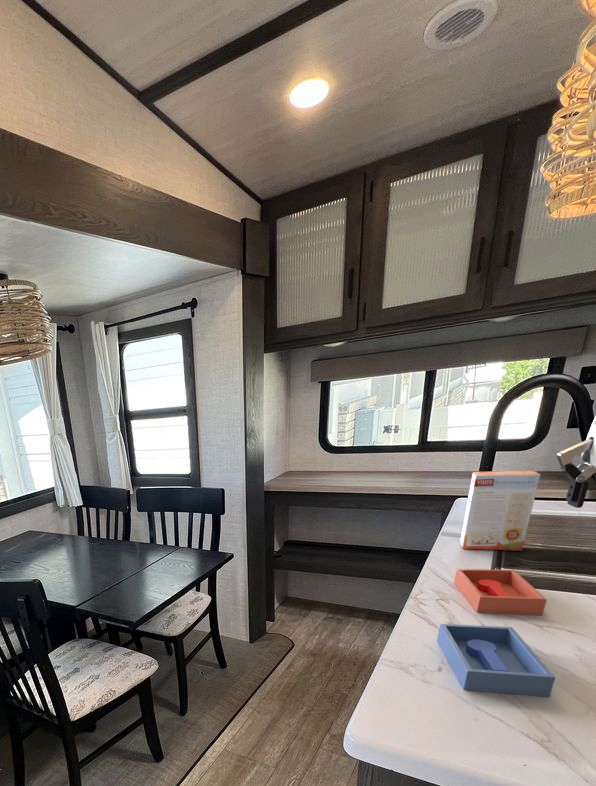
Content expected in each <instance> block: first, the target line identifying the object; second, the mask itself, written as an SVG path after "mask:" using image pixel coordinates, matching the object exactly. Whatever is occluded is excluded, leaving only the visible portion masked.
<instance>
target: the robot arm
mask: <svg viewBox="0 0 596 786" xmlns="http://www.w3.org/2000/svg"><path fill="white" fill-rule="evenodd" d="M580 454H581V456H580V464H579V465H578V466H576V465H574V463H573V462H574V461H573V460H574V457H576V456H579V455H580ZM556 459H557V461H558V463H559V466H560V470H561V471H562V472H563V473H564V474H565V476H567V478H568V479H569V480H570V481H569V486H568V489H567V492H566V497H565V500H566V501H567V505H569V506H571V507H574V508H575V509H578V508H579V509H581V508H582V507H584V503H585V500H586V496H587V492H588V489H589V486H590V482H589V481H587V479H589V478H590V477H592V476H593V475H594V474H595V473H596V416H595V417H594V419H593V421H592V423H591V426H590V428H589V431H588V433H587V436H586V439H585V440H584V441H581V442H579V443H577V444H574V445H572V446H570V447H568V448H565V449H563V450H561V451H559V452H557V453H556Z"/></svg>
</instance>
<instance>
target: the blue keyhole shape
mask: <svg viewBox="0 0 596 786" xmlns="http://www.w3.org/2000/svg"><path fill="white" fill-rule="evenodd" d="M496 650H497V647H496V646H495V645H494V644H492V643H490V642H488V641H484V640H470V641H468V642H467V645H466V652H467V653H468V654H469V655H471V656H473V657H476V658H478V660H479V661H480V663H481V664H482V666H483V668H484V669H485V670H493V671H507V672H508V670H507V668H506V667H505V666H504V664H503V663H502V661H501V660H500V659H499V657H498V656H497V654H496Z"/></svg>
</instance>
